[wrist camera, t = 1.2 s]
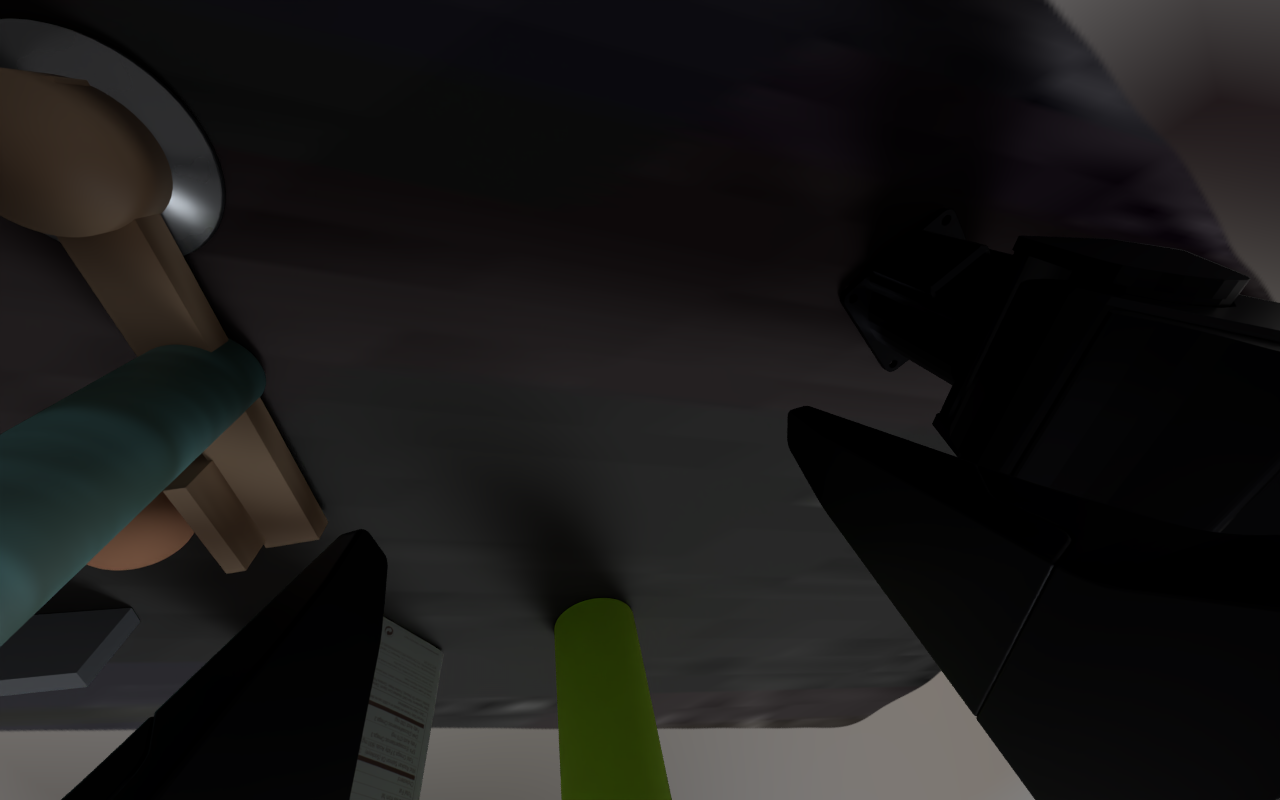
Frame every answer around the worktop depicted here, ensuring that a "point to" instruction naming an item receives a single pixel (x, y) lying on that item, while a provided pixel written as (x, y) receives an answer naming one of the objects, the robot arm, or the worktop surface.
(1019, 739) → the robot arm
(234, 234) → the worktop surface
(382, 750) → the supplement box
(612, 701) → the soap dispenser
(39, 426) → the lever
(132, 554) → the ball
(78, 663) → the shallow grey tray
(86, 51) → the pivot base
